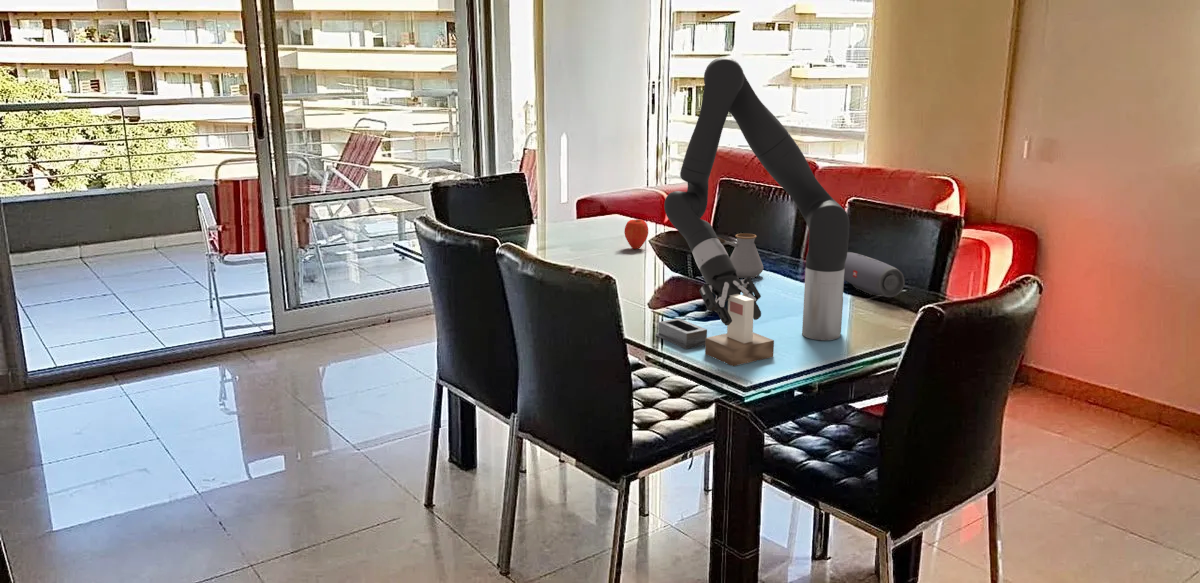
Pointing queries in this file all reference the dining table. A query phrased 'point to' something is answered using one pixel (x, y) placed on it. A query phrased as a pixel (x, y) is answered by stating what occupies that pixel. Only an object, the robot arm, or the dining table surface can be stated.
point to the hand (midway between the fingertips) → (743, 320)
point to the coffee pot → (745, 256)
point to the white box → (740, 318)
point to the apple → (636, 233)
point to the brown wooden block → (739, 349)
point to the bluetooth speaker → (873, 275)
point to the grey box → (682, 333)
